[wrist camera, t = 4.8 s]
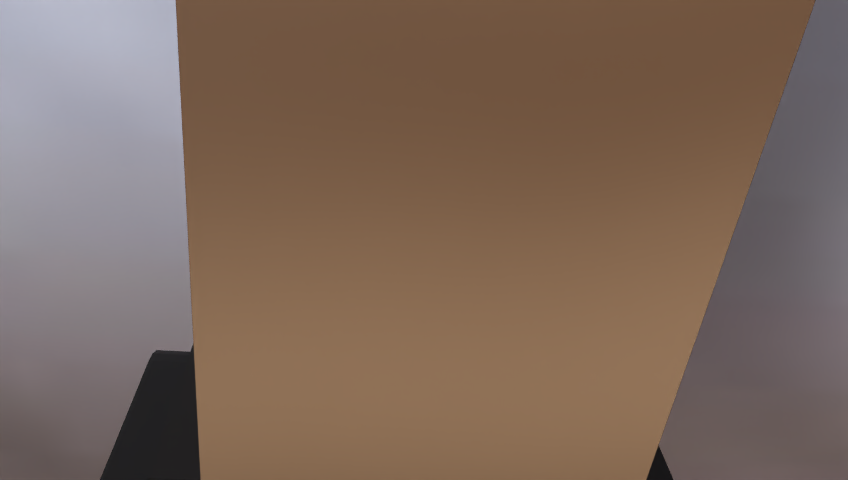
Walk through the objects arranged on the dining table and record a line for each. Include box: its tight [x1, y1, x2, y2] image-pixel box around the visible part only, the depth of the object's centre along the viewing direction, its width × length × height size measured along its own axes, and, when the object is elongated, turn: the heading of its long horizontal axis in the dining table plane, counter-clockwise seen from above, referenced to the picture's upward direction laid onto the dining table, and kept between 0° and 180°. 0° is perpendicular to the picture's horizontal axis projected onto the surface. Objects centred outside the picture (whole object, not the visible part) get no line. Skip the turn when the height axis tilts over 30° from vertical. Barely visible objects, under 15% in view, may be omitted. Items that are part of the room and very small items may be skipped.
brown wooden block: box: [176, 0, 815, 480], centre depth 9 cm, size 22×4×5 cm, turn 174°
